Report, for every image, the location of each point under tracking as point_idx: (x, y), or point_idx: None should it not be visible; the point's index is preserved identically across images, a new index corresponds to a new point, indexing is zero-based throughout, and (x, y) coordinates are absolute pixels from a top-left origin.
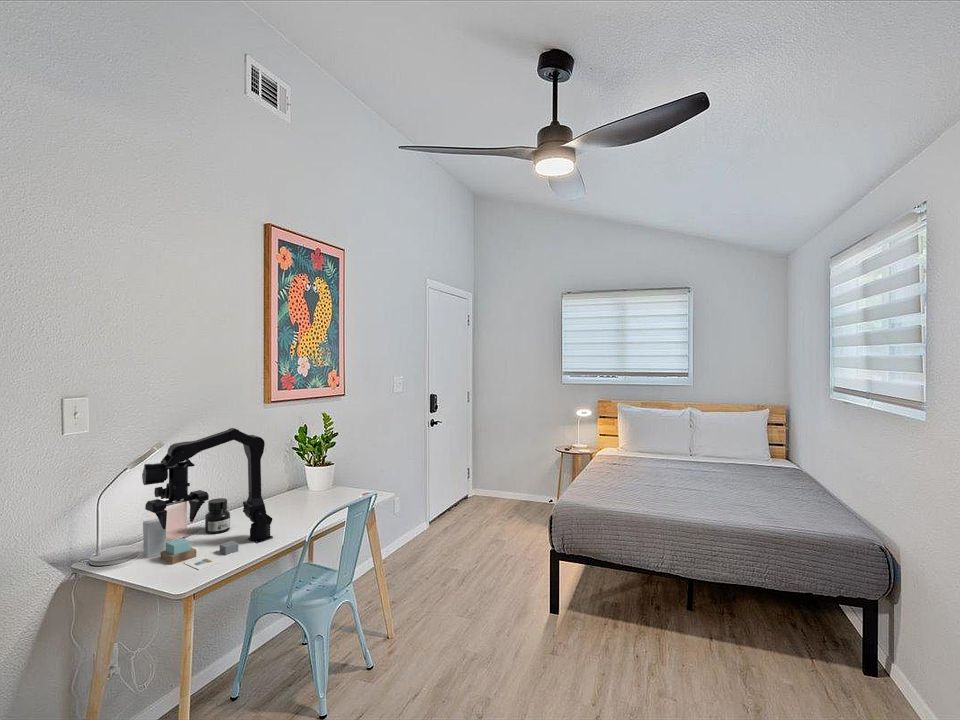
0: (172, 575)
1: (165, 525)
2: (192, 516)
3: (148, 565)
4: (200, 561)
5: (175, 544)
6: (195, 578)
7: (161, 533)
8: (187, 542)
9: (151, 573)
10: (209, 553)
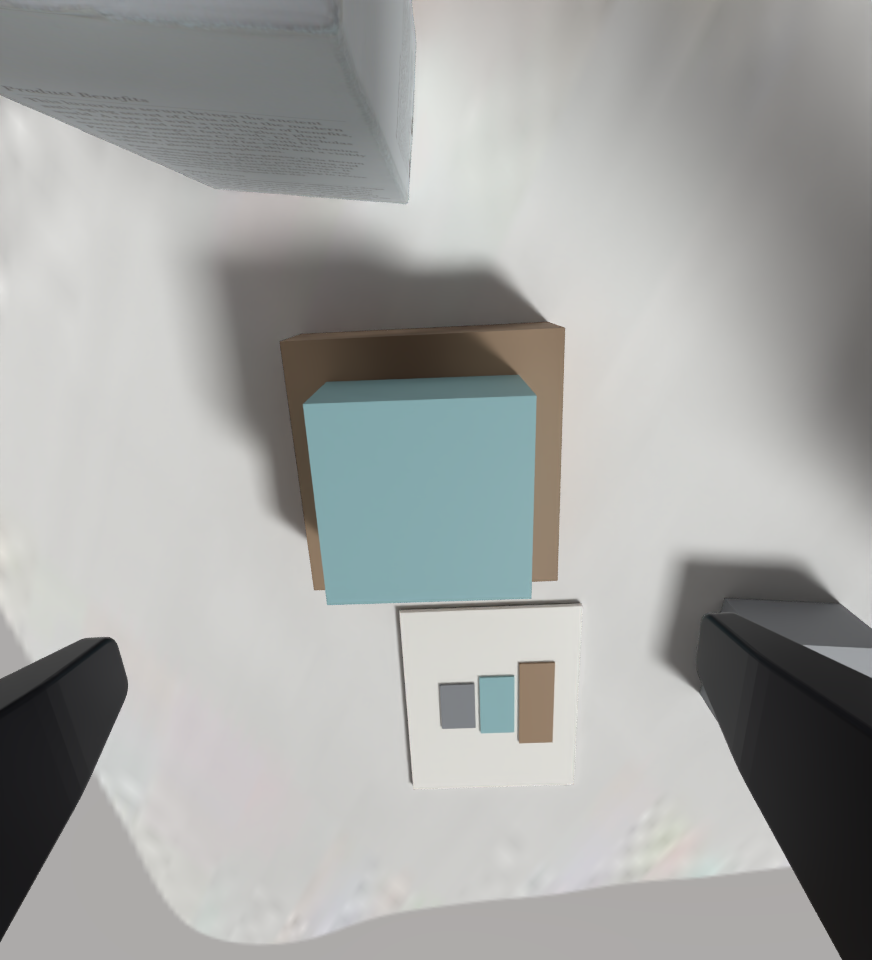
0: (248, 738)
1: (66, 798)
2: (772, 808)
3: (167, 408)
4: (495, 684)
5: (361, 566)
6: (336, 870)
7: (297, 140)
8: (490, 599)
9: (143, 599)
10: (654, 562)
